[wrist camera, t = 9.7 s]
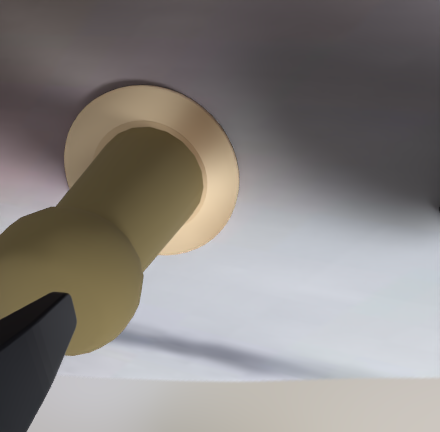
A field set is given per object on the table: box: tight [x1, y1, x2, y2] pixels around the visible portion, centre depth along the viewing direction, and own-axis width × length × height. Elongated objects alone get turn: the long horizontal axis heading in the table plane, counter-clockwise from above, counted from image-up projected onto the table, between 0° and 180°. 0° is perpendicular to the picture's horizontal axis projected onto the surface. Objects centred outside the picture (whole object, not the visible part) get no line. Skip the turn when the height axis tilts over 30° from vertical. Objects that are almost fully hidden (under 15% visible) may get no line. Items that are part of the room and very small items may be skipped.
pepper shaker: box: [0, 127, 204, 356], centre depth 17 cm, size 6×6×11 cm
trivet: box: [64, 85, 239, 255], centre depth 22 cm, size 10×10×1 cm
